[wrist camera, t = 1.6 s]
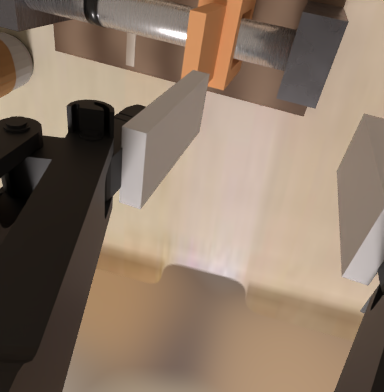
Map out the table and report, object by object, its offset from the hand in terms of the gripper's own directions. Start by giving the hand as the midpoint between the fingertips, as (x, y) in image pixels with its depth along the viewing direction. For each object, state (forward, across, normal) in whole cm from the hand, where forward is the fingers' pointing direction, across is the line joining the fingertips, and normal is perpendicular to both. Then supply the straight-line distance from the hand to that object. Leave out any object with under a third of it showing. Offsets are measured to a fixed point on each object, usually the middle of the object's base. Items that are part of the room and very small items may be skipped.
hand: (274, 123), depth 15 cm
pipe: (+21, +12, 0) cm, 25 cm away
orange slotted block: (+18, +6, 0) cm, 19 cm away
